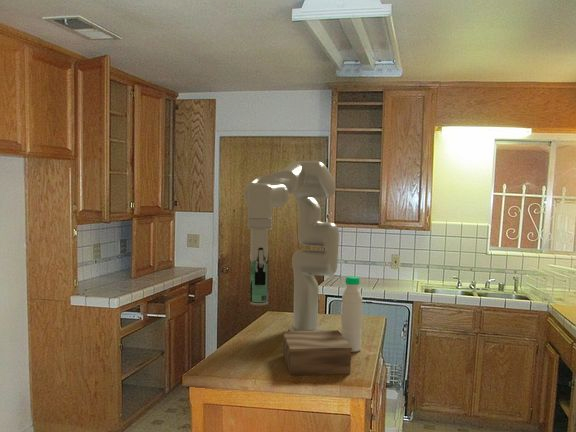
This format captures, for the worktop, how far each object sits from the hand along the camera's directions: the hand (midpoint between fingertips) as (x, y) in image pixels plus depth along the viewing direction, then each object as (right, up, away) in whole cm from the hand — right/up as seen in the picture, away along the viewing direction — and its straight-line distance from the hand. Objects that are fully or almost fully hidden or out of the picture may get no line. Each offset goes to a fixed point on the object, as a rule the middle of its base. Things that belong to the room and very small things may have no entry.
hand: (259, 282), depth 155 cm
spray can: (0, -7, 0) cm, 7 cm away
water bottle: (+30, -26, +19) cm, 44 cm away
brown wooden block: (+17, -26, +3) cm, 31 cm away
